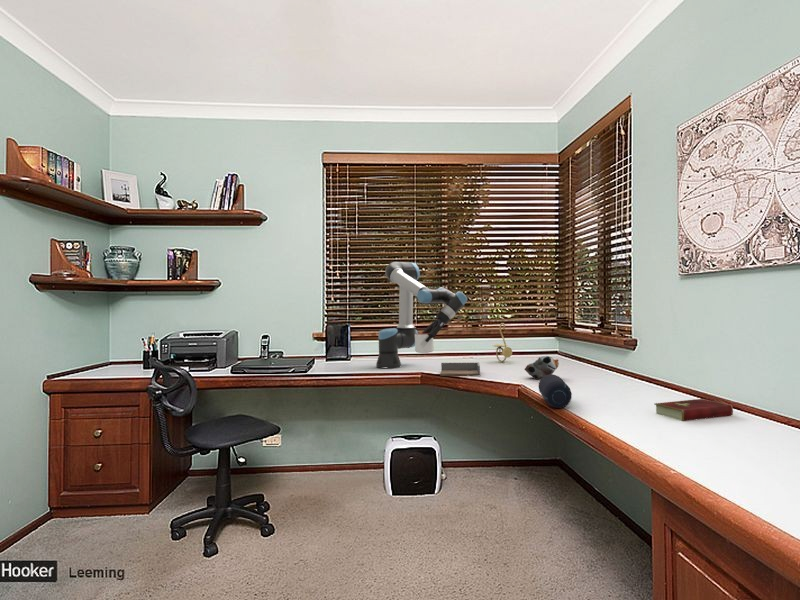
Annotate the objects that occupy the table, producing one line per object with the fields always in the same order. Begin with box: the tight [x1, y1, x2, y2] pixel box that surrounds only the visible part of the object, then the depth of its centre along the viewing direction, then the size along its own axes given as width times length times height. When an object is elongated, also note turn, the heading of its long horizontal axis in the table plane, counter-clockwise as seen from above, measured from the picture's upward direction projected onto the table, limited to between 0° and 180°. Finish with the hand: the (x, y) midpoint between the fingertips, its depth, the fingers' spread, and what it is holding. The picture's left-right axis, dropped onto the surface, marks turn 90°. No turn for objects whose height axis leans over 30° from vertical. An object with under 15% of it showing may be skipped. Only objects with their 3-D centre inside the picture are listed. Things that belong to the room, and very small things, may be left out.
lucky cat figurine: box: [524, 355, 560, 380], centre depth 255 cm, size 15×12×14 cm
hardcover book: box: [653, 398, 734, 422], centre depth 172 cm, size 12×21×4 cm, turn 106°
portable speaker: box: [538, 373, 573, 409], centre depth 195 cm, size 25×10×10 cm, turn 171°
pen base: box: [439, 370, 481, 377], centre depth 275 cm, size 15×21×1 cm
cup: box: [414, 332, 434, 354], centre depth 276 cm, size 10×10×10 cm
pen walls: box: [440, 362, 481, 375], centre depth 275 cm, size 15×21×4 cm
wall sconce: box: [492, 322, 513, 363], centre depth 321 cm, size 14×10×25 cm
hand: (418, 345), depth 275 cm, fingers closed on cup, 10 cm apart
